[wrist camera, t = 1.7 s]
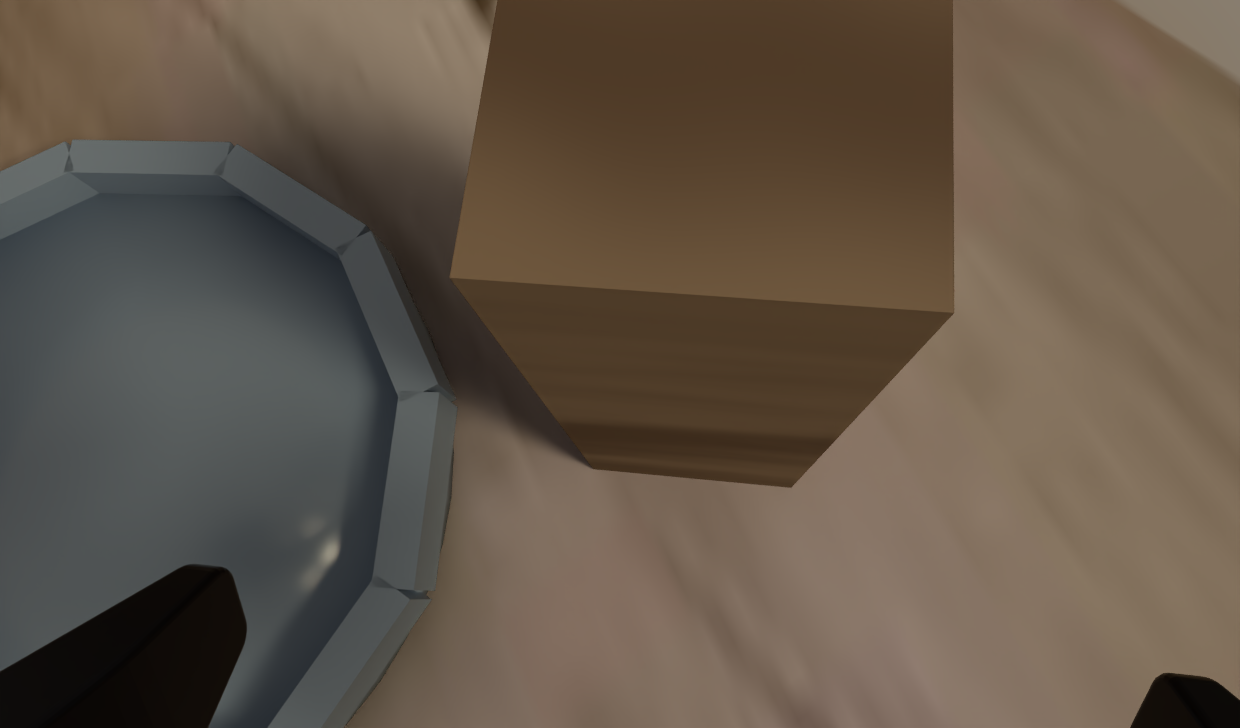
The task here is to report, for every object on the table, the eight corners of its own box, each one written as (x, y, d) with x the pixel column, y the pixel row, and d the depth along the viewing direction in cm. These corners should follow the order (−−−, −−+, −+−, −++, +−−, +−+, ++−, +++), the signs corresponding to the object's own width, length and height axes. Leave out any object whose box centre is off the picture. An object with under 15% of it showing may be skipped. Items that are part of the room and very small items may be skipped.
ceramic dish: (134, 1038, 18) (68, 1090, 16) (-329, 575, 22) (-425, 573, 20) (588, 379, 21) (577, 358, 19) (115, 80, 25) (68, 38, 23)
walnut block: (791, 487, 20) (954, 312, 8) (593, 468, 21) (450, 277, 8) (800, 300, 22) (952, -106, 9) (614, 286, 22) (517, -114, 10)
